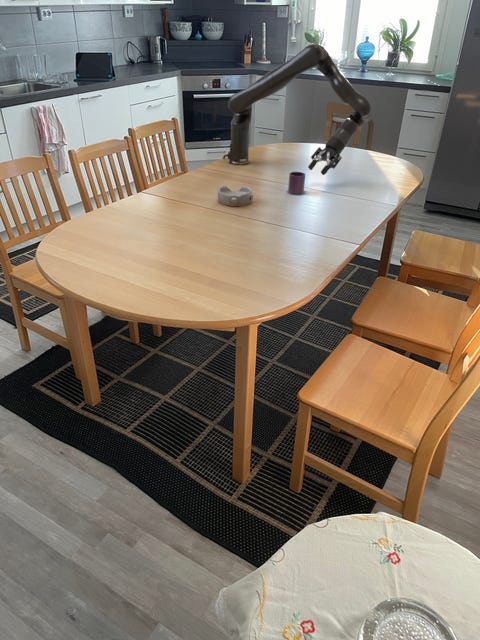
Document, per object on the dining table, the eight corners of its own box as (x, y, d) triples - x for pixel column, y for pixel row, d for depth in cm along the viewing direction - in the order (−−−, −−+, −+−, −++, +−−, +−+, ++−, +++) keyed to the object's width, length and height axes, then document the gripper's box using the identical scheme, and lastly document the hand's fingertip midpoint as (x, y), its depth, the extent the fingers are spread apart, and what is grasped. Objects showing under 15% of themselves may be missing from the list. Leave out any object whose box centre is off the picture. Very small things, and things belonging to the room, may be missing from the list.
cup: (287, 194, 214) (288, 175, 209) (288, 189, 219) (290, 171, 215) (303, 195, 213) (304, 176, 209) (304, 190, 219) (305, 172, 214)
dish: (213, 198, 208) (213, 186, 205) (244, 194, 212) (244, 183, 209) (224, 209, 196) (225, 197, 194) (257, 205, 201) (257, 193, 198)
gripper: (323, 132, 218) (301, 162, 219) (346, 139, 208) (322, 170, 209) (331, 143, 223) (309, 172, 224) (353, 150, 213) (330, 180, 214)
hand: (315, 171), depth 217 cm, fingers open, 8 cm apart
